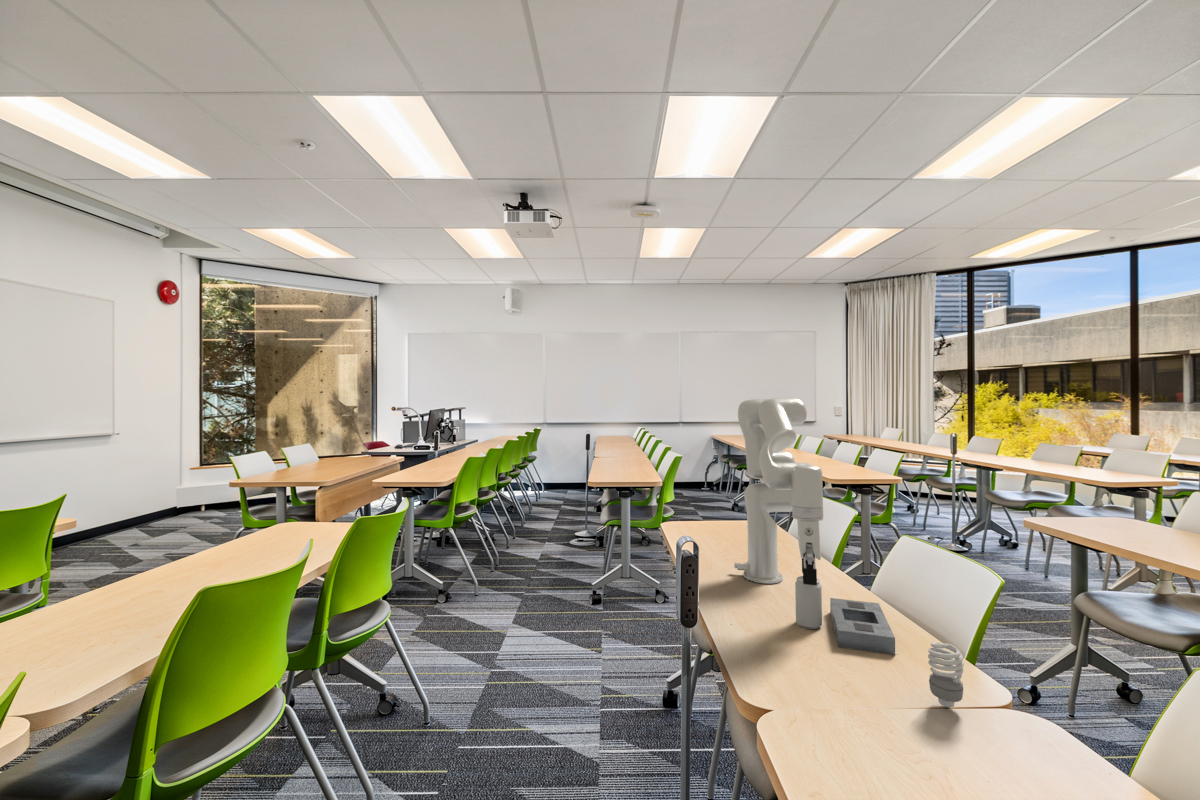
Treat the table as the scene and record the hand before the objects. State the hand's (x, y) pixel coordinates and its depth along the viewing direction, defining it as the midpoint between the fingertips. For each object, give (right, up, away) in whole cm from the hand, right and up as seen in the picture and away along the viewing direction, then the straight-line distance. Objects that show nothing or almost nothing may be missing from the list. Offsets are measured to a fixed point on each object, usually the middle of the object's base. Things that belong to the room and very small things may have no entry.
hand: (809, 578), depth 133 cm
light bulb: (+11, -12, -37) cm, 40 cm away
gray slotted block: (+11, -12, -4) cm, 17 cm away
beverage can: (0, -13, 0) cm, 13 cm away
